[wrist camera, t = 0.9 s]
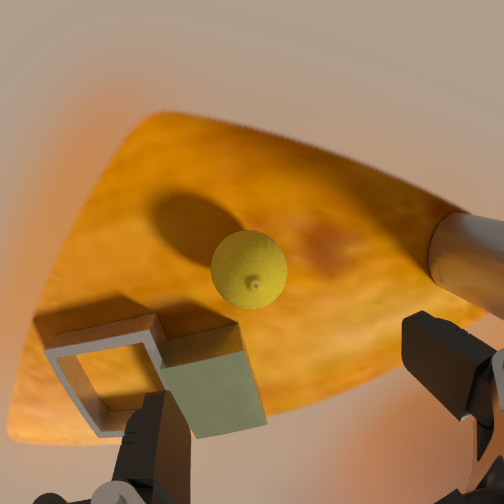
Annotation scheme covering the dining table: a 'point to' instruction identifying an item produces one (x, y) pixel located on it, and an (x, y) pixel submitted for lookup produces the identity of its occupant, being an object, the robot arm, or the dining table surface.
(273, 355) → the dining table surface
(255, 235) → the lemon
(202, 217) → the dining table surface
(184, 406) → the square open box
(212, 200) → the dining table surface
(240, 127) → the dining table surface
